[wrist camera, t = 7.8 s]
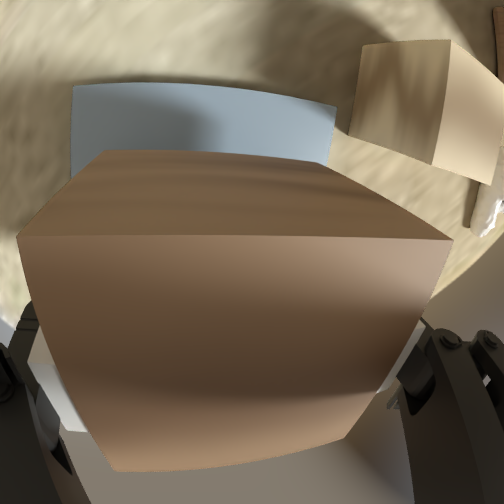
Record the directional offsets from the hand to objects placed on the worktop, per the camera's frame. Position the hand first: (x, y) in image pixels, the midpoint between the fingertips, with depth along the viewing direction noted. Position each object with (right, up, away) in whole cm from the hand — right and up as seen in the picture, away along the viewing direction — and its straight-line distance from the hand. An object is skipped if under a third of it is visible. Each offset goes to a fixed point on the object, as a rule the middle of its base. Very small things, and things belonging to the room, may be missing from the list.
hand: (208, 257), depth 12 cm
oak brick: (+11, +10, +4) cm, 15 cm away
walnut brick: (0, 0, 0) cm, 0 cm away
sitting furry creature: (+26, +7, +11) cm, 29 cm away
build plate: (-1, +3, +4) cm, 5 cm away
